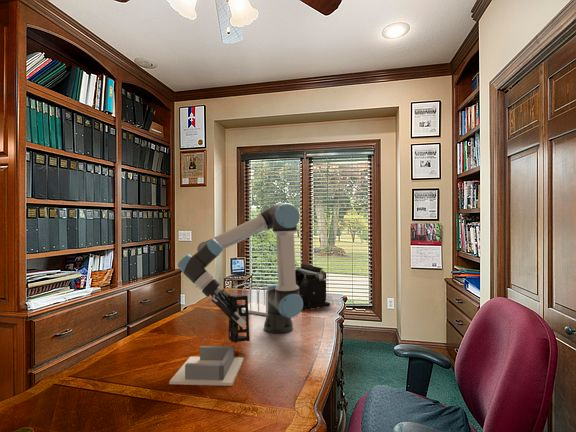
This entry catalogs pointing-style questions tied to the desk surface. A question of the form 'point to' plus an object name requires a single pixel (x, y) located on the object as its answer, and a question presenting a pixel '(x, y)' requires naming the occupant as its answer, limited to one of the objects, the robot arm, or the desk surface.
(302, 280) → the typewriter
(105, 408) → the desk surface
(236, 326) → the holder
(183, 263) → the robot arm
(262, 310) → the file sorter
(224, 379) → the bay
